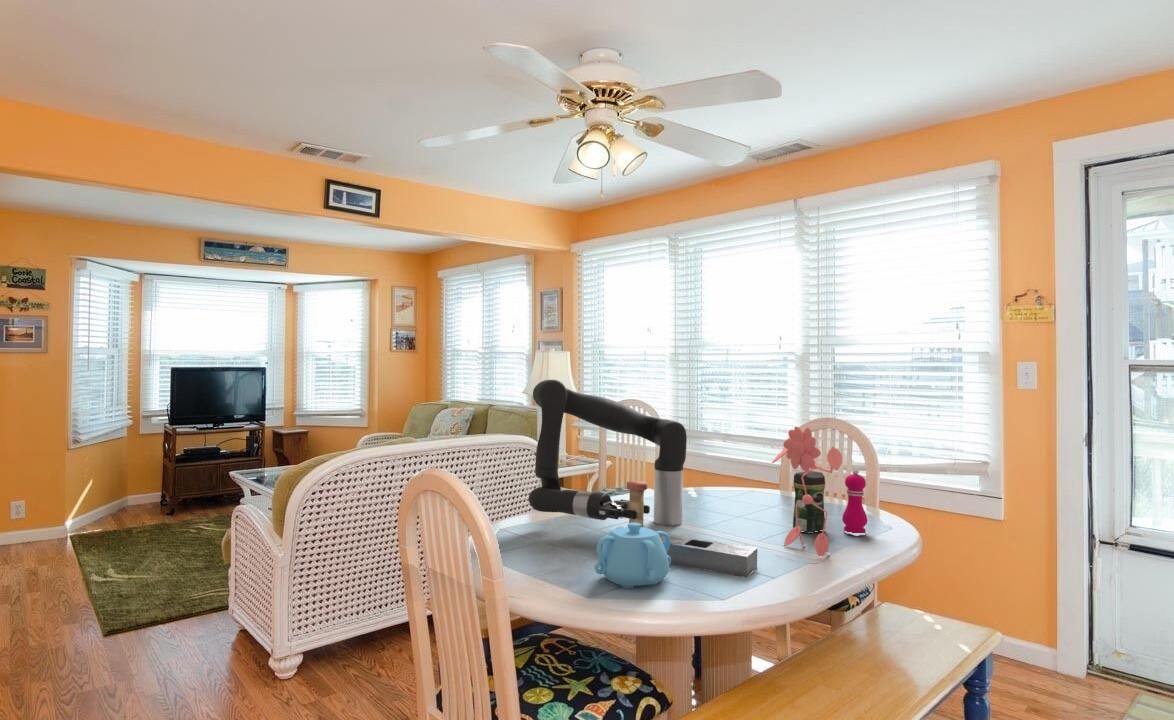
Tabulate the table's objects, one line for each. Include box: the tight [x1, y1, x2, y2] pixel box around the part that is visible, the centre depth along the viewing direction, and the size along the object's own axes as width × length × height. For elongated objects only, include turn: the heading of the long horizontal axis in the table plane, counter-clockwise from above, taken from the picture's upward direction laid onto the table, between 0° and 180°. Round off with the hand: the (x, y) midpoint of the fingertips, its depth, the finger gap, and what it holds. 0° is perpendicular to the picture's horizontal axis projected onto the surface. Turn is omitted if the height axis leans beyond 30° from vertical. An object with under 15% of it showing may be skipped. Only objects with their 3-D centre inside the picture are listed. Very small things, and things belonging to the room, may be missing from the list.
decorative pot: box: [594, 522, 671, 589], centre depth 155 cm, size 16×16×14 cm
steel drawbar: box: [659, 533, 758, 578], centre depth 170 cm, size 9×28×5 cm, turn 60°
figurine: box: [771, 426, 843, 557], centre depth 181 cm, size 15×26×35 cm, turn 27°
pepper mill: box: [841, 468, 868, 534], centre depth 204 cm, size 7×7×20 cm
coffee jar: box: [792, 470, 826, 533], centre depth 207 cm, size 10×8×19 cm
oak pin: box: [626, 480, 648, 527], centre depth 184 cm, size 6×6×18 cm
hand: (643, 512), depth 183 cm, fingers open, 7 cm apart
